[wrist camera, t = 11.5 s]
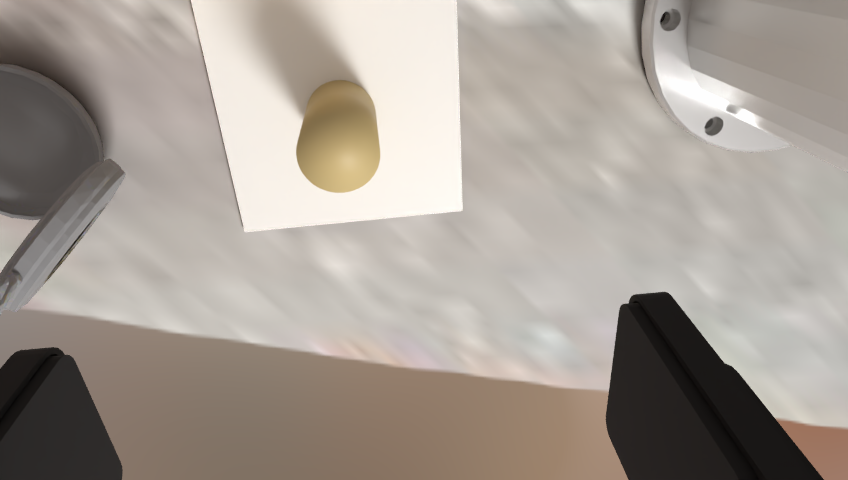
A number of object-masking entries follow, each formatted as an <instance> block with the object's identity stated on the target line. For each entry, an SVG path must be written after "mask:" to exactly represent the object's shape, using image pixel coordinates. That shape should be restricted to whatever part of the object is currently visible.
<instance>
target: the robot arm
mask: <svg viewBox="0 0 848 480" xmlns="http://www.w3.org/2000/svg"><path fill="white" fill-rule="evenodd" d="M664 13H665V19H664V21H663V22H661V23H660V19H661V17H662V15H663V14H664ZM641 27H642V57H643V61H644V66H645V71H646V75H647V80H648V82H649V84H650V86H651V89H652V91H653V93H654V95H655V97H656V100H657V102H658V103H659V104H660V106H661V107H662V108H663V109H664V111H665V112H666V113H667V115H668V116H669V117H670V119H671V120H673V121H674V122H675V123H676V124H678V125H679V126H680V127H681V128H683V129H684V130H685V131H686V132H688V133H689V134H691V135H692V136H694V137H696V138H697V139H699V140H701V141H703V142H705V143H707V144H710V145H713V146H716V147H719V148H722V149H725V150H728V151H739V152H749V153H753V152H764V151H774V150H778V149H782V148H786V147H789V146H794V147H796V148H798V149H800V150H802V151H804V152H806V153H808V154H810V155H812V156H814V157H816V158H818V159H820V160H822V161H824V162H826V163H828V164H830V165H832V166H834V167H836V168H838V169H840V170H842V171H844V172H846V173H848V0H645V7H644V13H643V19H642V26H641ZM706 122H707V123H706ZM606 424H607V430H608V434H609V437H610V439H611V442H612V444H613V446H614V448H615V450H616V453H617V455H618V457H619V459H620V461H621V464H622V466H623V468H624V470H625V473H626V475H627V477H628V479H629V480H824V479H823V478H822V477H821V476H820V474H819V473H818V472H817V471H816V469H815V468H814V467H813V466H812V464H811V463H810V462H809V461H808V459H807V458H806V457H805V456H804V454H803V453H802V452H801V451H800V449H799V448H798V447H797V446H796V444H795V443H794V442H793V441H792V439H791V438H790V437H789V436H788V434H787V433H786V432H785V431H784V429H783V428H782V427H781V426H780V424H779V423H778V422H777V421H776V419H775V418H774V417H773V416H772V414H771V413H770V412H769V411H768V409H767V408H766V407H765V406H764V404H763V403H762V402H761V401H760V399H759V398H758V397H757V395H756V394H755V393H754V392H753V390H752V389H751V388H750V387H749V385H748V384H747V383H746V382H745V380H744V379H743V378H742V377H741V375H740V374H739V373H738V372H737V371H736V370H735V369H734V368H733V367H732V366H729V365H727V364H724V362H723V361H722V360H721V358H720V357H719V356H718V355H717V353H716V352H715V351H714V350H713V348H712V347H711V346H710V344H709V343H708V342H707V341H706V339H705V338H704V337H703V336H702V334H701V333H700V332H699V330H698V329H697V328H696V327H695V325H694V324H693V323H692V322H691V320H690V319H689V318H688V316H687V315H686V314H685V313H684V311H683V310H682V309H681V307H680V306H679V305H678V304H677V302H676V301H675V300H674V299H673V297H672V296H671V295H670V294H669V293H667V292H658V293H647V294H636V295H633V296H631V298H630V300H629V304H623V305H621V307H620V310H619V317H618V325H617V333H616V341H615V349H614V357H613V364H612V372H611V380H610V388H609V396H608V404H607V412H606ZM0 480H122V465H121V462H120V460H119V458H118V455H117V453H116V451H115V449H114V446H113V444H112V442H111V440H110V438H109V436H108V433H107V431H106V429H105V426H104V424H103V422H102V420H101V418H100V416H99V413H98V411H97V409H96V407H95V404H94V402H93V400H92V398H91V395H90V393H89V391H88V389H87V387H86V384H85V382H84V380H83V378H82V376H81V373H80V371H79V369H78V367H77V365H76V362H75V361H74V359H73V358H72V357H71V356H70V355H64V353H63V352H62V351H61V350H60V349H59V348H54V347H52V348H40V349H30V350H20V351H17V352H15V353H14V354H13V355H12V356H11V357H10V358H9V359H8V360H7V361H6V363H5V364H4V365H3V366H2V367H1V369H0Z"/></svg>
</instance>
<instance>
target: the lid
mask: <svg viewBox="0 0 848 480" xmlns="http://www.w3.org/2000/svg"><path fill="white" fill-rule="evenodd" d="M191 3H192V8H193V12H194V16H195V21H196V25H197V29H198V33H199V38H200V42H201V46H202V51H203V55H204V59H205V64H206V68H207V72H208V76H209V81H210V85H211V89H212V94H213V98H214V102H215V107H216V111H217V115H218V119H219V124H220V128H221V132H222V137H223V141H224V145H225V150H226V154H227V158H228V162H229V167H230V171H231V175H232V180H233V184H234V188H235V193H236V197H237V201H238V205H239V210H240V214H241V218H242V223H243V227H244V231H245V232H251V231H262V230H272V229H282V228H292V227H302V226H313V225H323V224H333V223H343V222H353V221H363V220H374V219H384V218H394V217H404V216H414V215H425V214H435V213H445V212H455V211H463V209H462V173H461V138H460V102H459V67H458V31H457V0H191Z"/></svg>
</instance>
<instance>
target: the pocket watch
mask: <svg viewBox="0 0 848 480" xmlns="http://www.w3.org/2000/svg"><path fill="white" fill-rule="evenodd" d="M103 161H104V154H103V147H102V141H101V139H100V136H99V134H98V131H97V128H96V126H95V123H94V122H93V120H92V119H91V117H90V116H89V115H88V113H87V112H86V110H85V109H84V107H83V106H82V105H81V104H80V103H79V102H78V101H77V100H76V99H75V98H74V97H73V96H72V95H71V94H70V93H69V92H68V91H67V90H65V89H64V88H63V87H61V86H60V85H58V84H57V83H56V82H54V81H53V80H51V79H49V78H47V77H45V76H43V75H41V74H39V73H38V72H35V71H32V70H29V69H26V68H23V67H20V66H17V65H12V64H0V214H2V215H5V216H8V217H11V218H19V219H28V220H38V219H41V220H40V221H39V222H38V223H37V225H36V226H35V227H34V228H33V229H32V231H31V232H30V233H29V234H28V236H27V237H26V238H25V240H24V241H23V242H22V244H21V245H20V246H19V248H18V249H17V250H16V252H15V253H14V254H13V256H12V257H11V259H10V260H9V261H8V263H7V264H6V266H5V267H4V269H3V270H2V272H1V273H0V315H1V313H2V311H3V310H10V311H13V312H16V311H17V310H19V309H20V308H22V307H23V306H24V305H26V304H27V303H28V302H29V301H30V299H31V298H32V297H33V296H34V295H35V294H36V293H37V292H38V290H39V289H40V288H41V287H42V286H43V285H44V284H45V283H46V281H47V280H48V279H49V278H50V277H51V276H52V274H53V273H54V272H55V271H56V270H57V268H58V267H59V266H60V265H61V264H62V262H63V261H64V260H65V259H66V258H67V256H68V255H69V254H70V253H71V251H72V250H73V249H74V248H75V246H76V245H77V244H78V242H79V241H80V240H81V239H82V237H83V236H84V235H85V234H86V232H87V231H88V230H89V228H90V227H91V226H92V224H93V223H94V222H95V220H96V219H97V218H98V216H99V215H100V214H101V212H102V211H103V210H104V208H105V207H106V205H107V204H108V203H109V201H110V200H111V199H112V197H113V196H114V194H115V192H116V191H117V189H118V187H119V186H120V184H121V182H122V181H123V179H124V177H125V172H124V171H123V170H122V169H121V168H120V166H119V165H118V164H116V163H115V162H114V161H113V160H111V159H108V160H106V161H104V162H103Z"/></svg>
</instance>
